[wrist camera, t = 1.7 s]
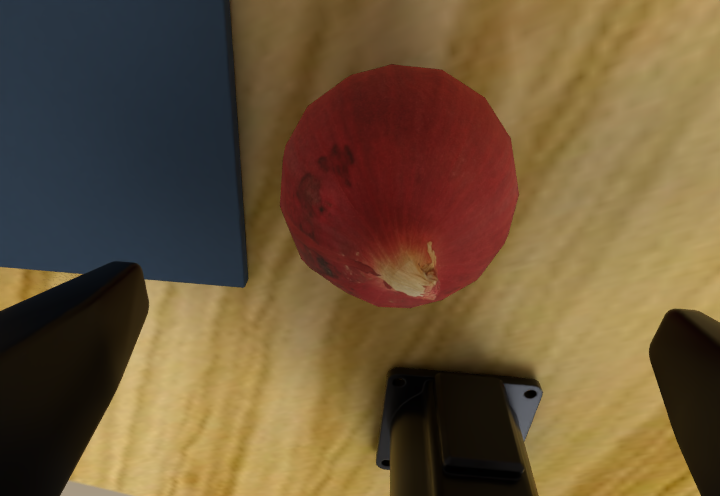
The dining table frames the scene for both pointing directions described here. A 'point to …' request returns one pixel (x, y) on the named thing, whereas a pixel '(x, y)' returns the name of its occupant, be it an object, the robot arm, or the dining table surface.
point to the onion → (399, 185)
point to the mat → (121, 139)
